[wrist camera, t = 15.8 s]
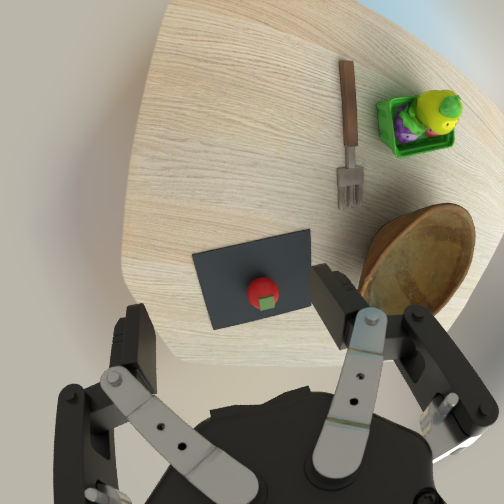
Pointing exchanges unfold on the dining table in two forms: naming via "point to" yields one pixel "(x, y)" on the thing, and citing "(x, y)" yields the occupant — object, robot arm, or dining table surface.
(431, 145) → the fruit basket
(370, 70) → the dining table surface
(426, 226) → the bowl
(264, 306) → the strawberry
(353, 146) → the fork
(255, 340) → the dining table surface
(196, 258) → the placemat
